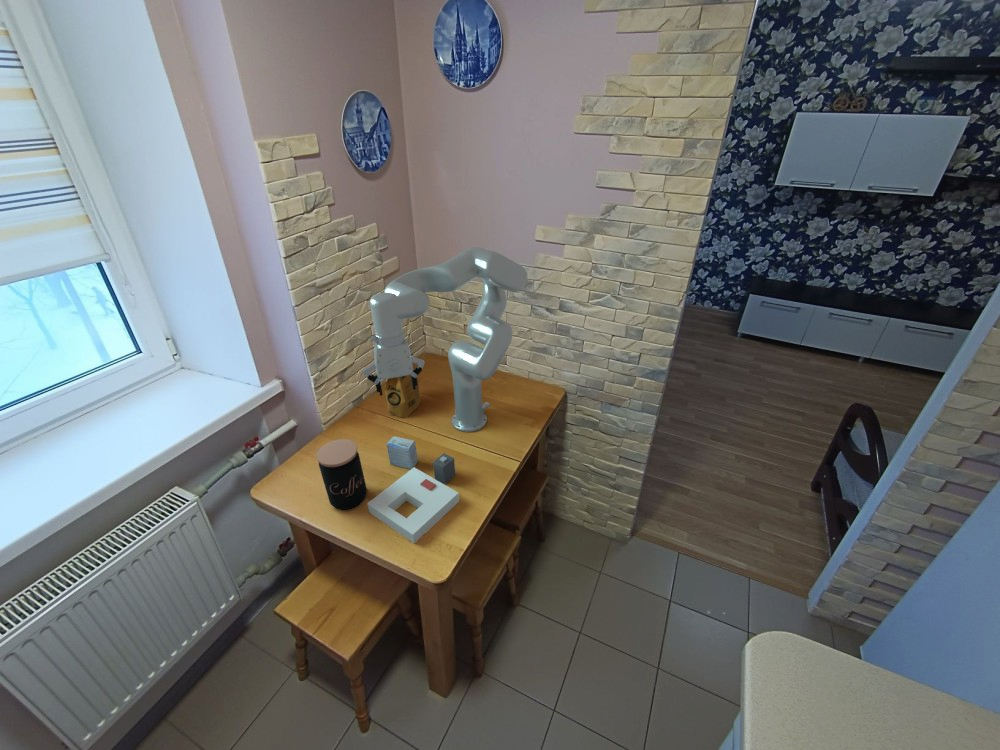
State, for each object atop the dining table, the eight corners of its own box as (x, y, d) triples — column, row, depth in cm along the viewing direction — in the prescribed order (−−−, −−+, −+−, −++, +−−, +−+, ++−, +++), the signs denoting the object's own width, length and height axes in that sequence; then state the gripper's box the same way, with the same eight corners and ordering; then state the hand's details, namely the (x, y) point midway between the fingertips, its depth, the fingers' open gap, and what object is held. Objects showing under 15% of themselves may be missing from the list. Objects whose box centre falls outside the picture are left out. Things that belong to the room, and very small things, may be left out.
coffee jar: (332, 517, 128) (318, 469, 118) (328, 491, 136) (314, 444, 127) (370, 505, 131) (360, 457, 122) (364, 480, 140) (354, 434, 130)
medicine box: (418, 461, 147) (415, 440, 143) (411, 470, 143) (408, 449, 139) (397, 456, 149) (393, 435, 145) (389, 465, 146) (386, 444, 141)
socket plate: (415, 475, 141) (413, 465, 139) (459, 501, 132) (458, 491, 130) (369, 512, 129) (366, 502, 127) (414, 543, 120) (412, 533, 118)
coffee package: (384, 414, 169) (374, 363, 157) (402, 397, 178) (394, 347, 167) (407, 420, 165) (399, 368, 154) (424, 402, 175) (418, 352, 164)
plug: (445, 470, 143) (444, 451, 140) (455, 475, 141) (453, 456, 137) (434, 479, 140) (432, 460, 136) (444, 484, 138) (442, 465, 134)
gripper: (358, 348, 120) (368, 402, 129) (423, 339, 124) (429, 391, 133) (356, 336, 126) (366, 388, 135) (419, 328, 131) (424, 379, 139)
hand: (397, 390), depth 134 cm, fingers open, 9 cm apart
